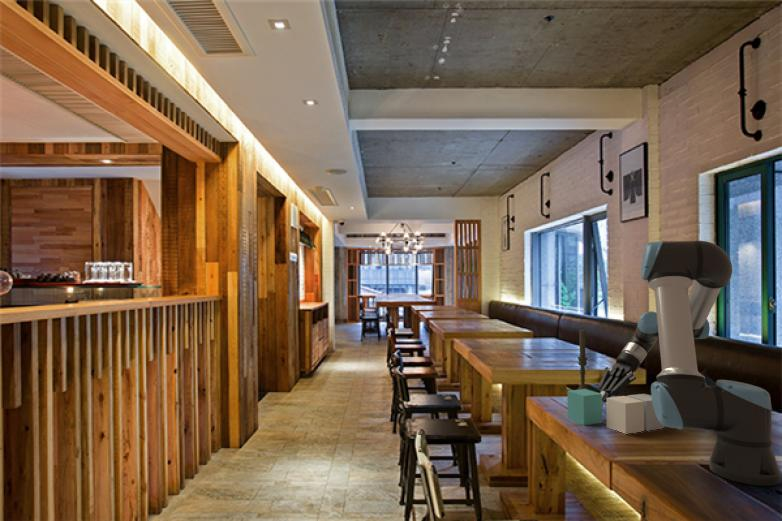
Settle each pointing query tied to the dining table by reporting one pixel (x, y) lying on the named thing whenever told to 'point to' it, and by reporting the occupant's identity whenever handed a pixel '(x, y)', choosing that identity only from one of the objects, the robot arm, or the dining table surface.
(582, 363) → the candlestick holder
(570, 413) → the teal block
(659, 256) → the robot arm
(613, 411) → the cream block
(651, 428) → the grey block
